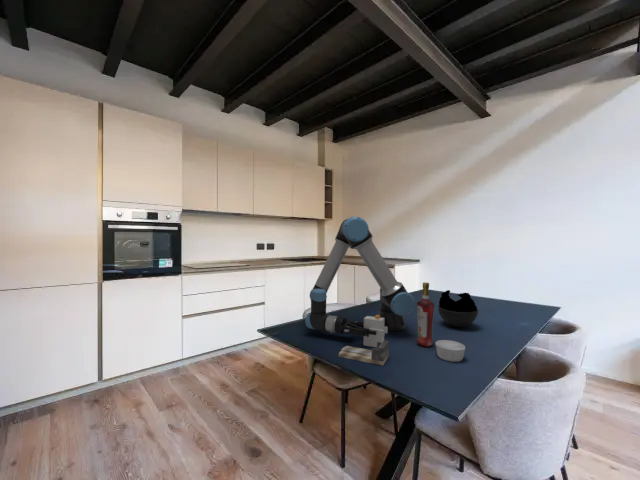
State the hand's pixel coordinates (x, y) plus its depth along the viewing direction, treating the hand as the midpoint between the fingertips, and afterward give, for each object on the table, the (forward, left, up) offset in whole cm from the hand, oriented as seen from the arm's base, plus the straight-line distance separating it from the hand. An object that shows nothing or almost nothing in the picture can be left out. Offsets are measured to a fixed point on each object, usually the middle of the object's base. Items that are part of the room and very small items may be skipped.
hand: (385, 331), depth 132 cm
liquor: (-19, -1, -7) cm, 20 cm away
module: (+4, -3, -7) cm, 8 cm away
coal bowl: (-50, -27, -7) cm, 57 cm away
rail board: (+12, +10, -7) cm, 17 cm away
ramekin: (-23, +13, -7) cm, 27 cm away
